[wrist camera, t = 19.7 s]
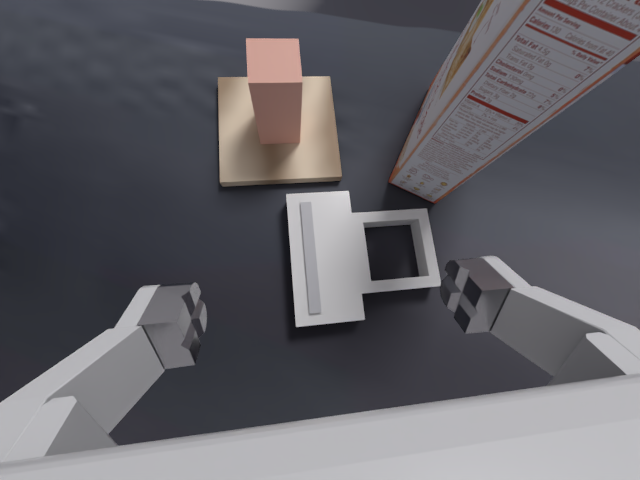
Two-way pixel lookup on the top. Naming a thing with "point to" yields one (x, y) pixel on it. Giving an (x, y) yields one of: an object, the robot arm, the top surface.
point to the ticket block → (275, 88)
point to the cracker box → (511, 83)
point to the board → (277, 159)
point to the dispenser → (346, 256)
